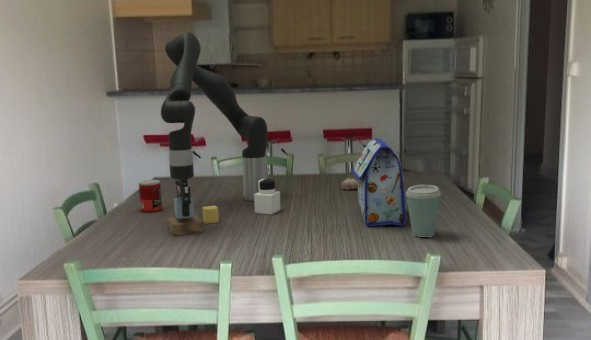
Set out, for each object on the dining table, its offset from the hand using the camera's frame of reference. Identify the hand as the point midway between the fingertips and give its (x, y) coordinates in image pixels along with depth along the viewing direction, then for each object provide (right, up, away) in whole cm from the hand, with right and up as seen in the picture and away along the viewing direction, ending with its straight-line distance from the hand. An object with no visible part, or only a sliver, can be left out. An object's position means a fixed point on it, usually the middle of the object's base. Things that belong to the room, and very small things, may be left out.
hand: (184, 213), depth 185 cm
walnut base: (0, -5, +1) cm, 5 cm away
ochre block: (+7, -3, +11) cm, 13 cm away
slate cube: (0, -1, 0) cm, 1 cm away
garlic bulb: (+60, +6, +57) cm, 83 cm away
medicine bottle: (+26, -1, +22) cm, 34 cm away
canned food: (-18, -1, +29) cm, 34 cm away
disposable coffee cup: (+75, -6, -11) cm, 76 cm away
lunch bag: (+65, -2, +9) cm, 66 cm away
